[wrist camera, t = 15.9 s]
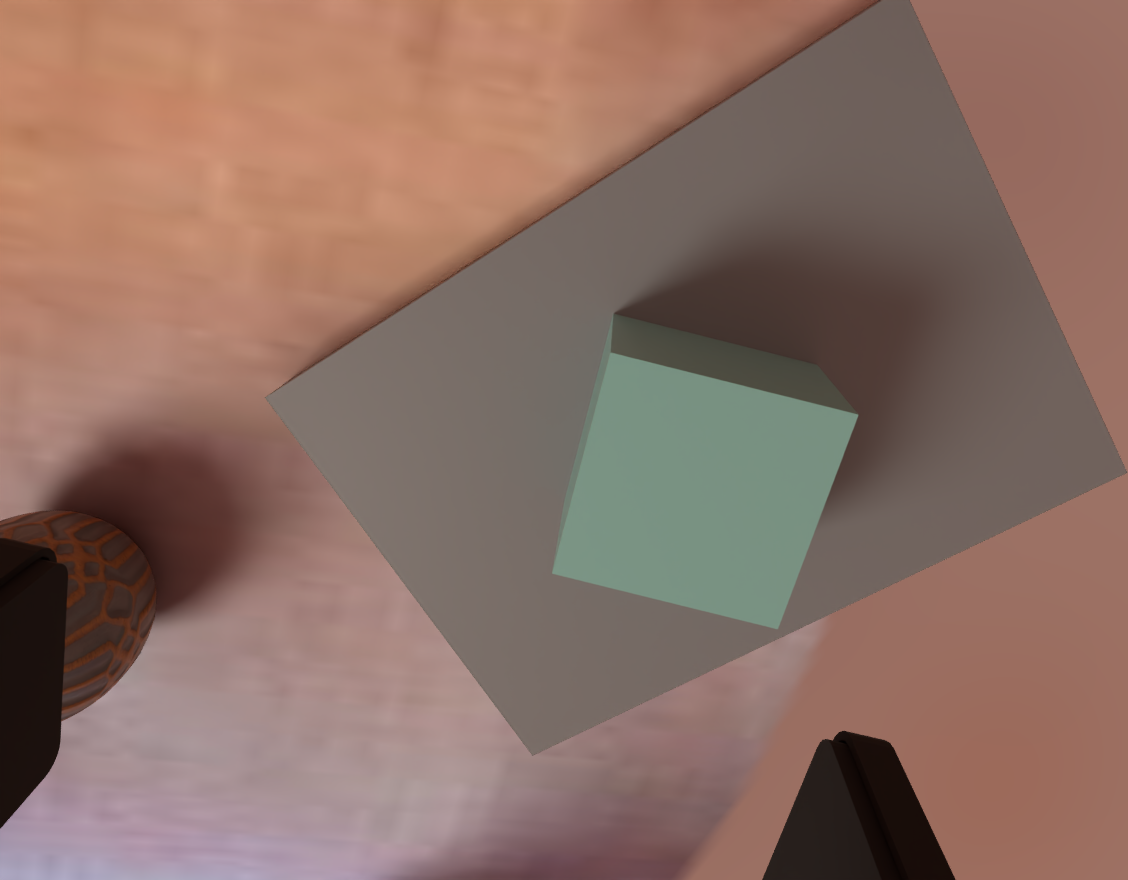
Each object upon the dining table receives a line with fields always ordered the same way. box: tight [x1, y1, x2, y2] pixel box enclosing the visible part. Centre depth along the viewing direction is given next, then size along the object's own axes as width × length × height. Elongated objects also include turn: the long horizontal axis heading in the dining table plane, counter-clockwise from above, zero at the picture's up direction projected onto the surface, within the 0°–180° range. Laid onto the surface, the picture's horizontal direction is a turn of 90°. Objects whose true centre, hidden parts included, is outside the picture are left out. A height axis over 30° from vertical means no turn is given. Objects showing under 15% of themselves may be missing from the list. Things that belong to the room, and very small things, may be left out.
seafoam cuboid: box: [552, 314, 858, 629], centre depth 25 cm, size 6×6×5 cm
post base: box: [265, 0, 1127, 756], centre depth 27 cm, size 22×16×6 cm
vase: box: [0, 511, 157, 721], centre depth 29 cm, size 7×7×9 cm
